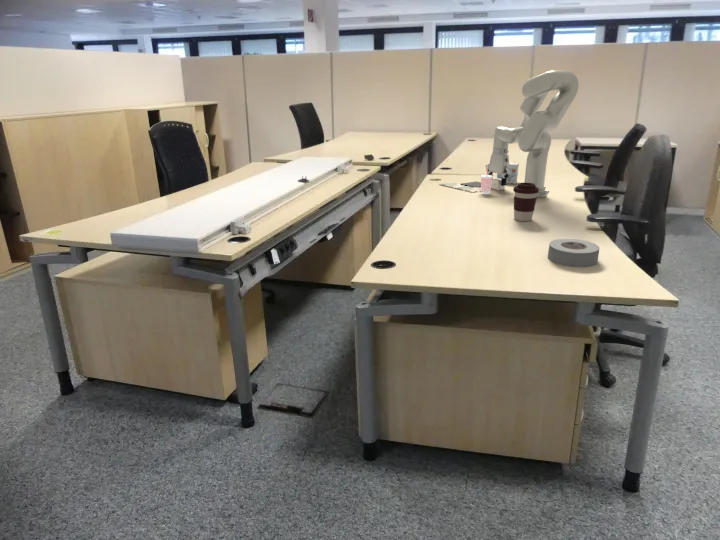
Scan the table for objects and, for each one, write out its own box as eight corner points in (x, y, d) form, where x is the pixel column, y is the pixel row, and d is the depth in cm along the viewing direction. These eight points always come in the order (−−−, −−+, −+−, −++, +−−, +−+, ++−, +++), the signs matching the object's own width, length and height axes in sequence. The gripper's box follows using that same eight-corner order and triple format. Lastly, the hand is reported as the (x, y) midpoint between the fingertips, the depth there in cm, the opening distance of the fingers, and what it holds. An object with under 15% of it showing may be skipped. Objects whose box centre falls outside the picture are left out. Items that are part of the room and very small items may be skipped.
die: (504, 189, 284) (505, 179, 282) (497, 190, 281) (498, 180, 280) (497, 187, 288) (498, 178, 286) (490, 188, 285) (491, 179, 284)
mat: (491, 185, 293) (491, 184, 293) (475, 187, 287) (475, 187, 287) (476, 182, 302) (476, 181, 302) (460, 184, 296) (460, 183, 296)
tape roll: (587, 271, 165) (589, 255, 163) (539, 260, 174) (541, 246, 172) (604, 259, 175) (606, 244, 174) (558, 249, 185) (560, 235, 183)
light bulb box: (496, 182, 301) (497, 163, 297) (498, 180, 307) (499, 161, 303) (515, 183, 297) (517, 164, 293) (517, 181, 303) (519, 162, 299)
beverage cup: (489, 192, 277) (491, 164, 272) (493, 194, 271) (495, 166, 266) (478, 192, 276) (480, 165, 272) (481, 194, 271) (483, 166, 266)
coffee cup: (522, 223, 217) (526, 187, 212) (505, 218, 225) (508, 183, 220) (540, 220, 221) (544, 184, 216) (523, 215, 229) (526, 180, 224)
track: (484, 190, 280) (484, 189, 280) (472, 192, 275) (472, 191, 275) (451, 183, 300) (451, 182, 300) (438, 184, 296) (438, 184, 296)
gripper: (517, 153, 273) (513, 186, 280) (493, 148, 287) (489, 180, 293) (507, 154, 270) (503, 187, 276) (482, 149, 283) (479, 181, 289)
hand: (496, 183), depth 284 cm, fingers open, 9 cm apart
